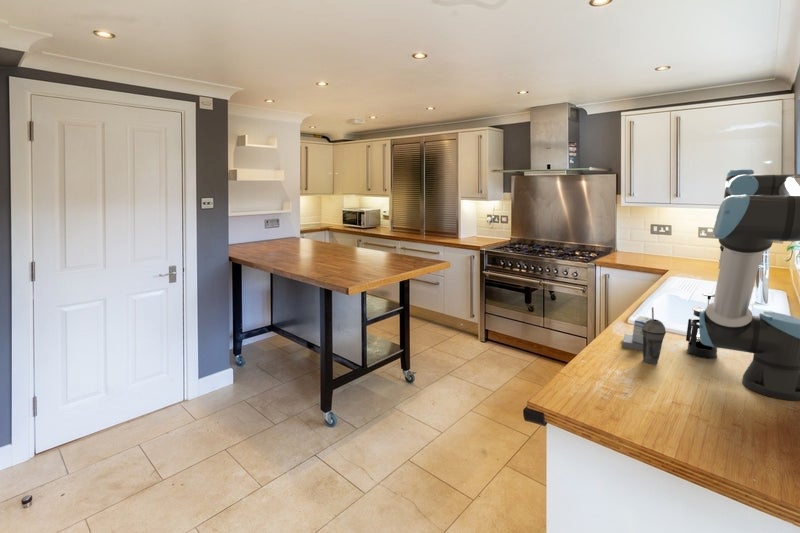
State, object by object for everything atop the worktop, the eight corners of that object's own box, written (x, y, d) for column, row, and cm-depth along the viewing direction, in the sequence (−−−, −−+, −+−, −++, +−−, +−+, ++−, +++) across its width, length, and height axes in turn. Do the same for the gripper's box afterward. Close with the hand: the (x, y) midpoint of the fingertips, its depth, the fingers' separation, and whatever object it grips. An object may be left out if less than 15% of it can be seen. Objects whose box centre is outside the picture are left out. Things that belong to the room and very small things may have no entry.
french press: (725, 358, 156) (734, 296, 152) (704, 360, 154) (713, 298, 150) (696, 346, 167) (704, 289, 163) (676, 348, 165) (683, 290, 161)
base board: (655, 354, 161) (655, 347, 161) (622, 349, 167) (623, 341, 166) (655, 346, 170) (655, 338, 169) (623, 341, 175) (624, 334, 175)
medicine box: (636, 336, 172) (639, 315, 170) (649, 339, 169) (652, 318, 167) (631, 341, 166) (634, 320, 164) (644, 344, 163) (647, 323, 161)
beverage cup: (665, 366, 149) (672, 311, 145) (642, 364, 151) (648, 310, 147) (657, 358, 156) (663, 305, 152) (635, 356, 158) (641, 304, 154)
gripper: (715, 211, 166) (708, 265, 170) (728, 215, 144) (719, 277, 148) (740, 212, 162) (732, 267, 166) (756, 216, 141) (747, 279, 144)
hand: (726, 272), depth 157 cm, fingers open, 13 cm apart
